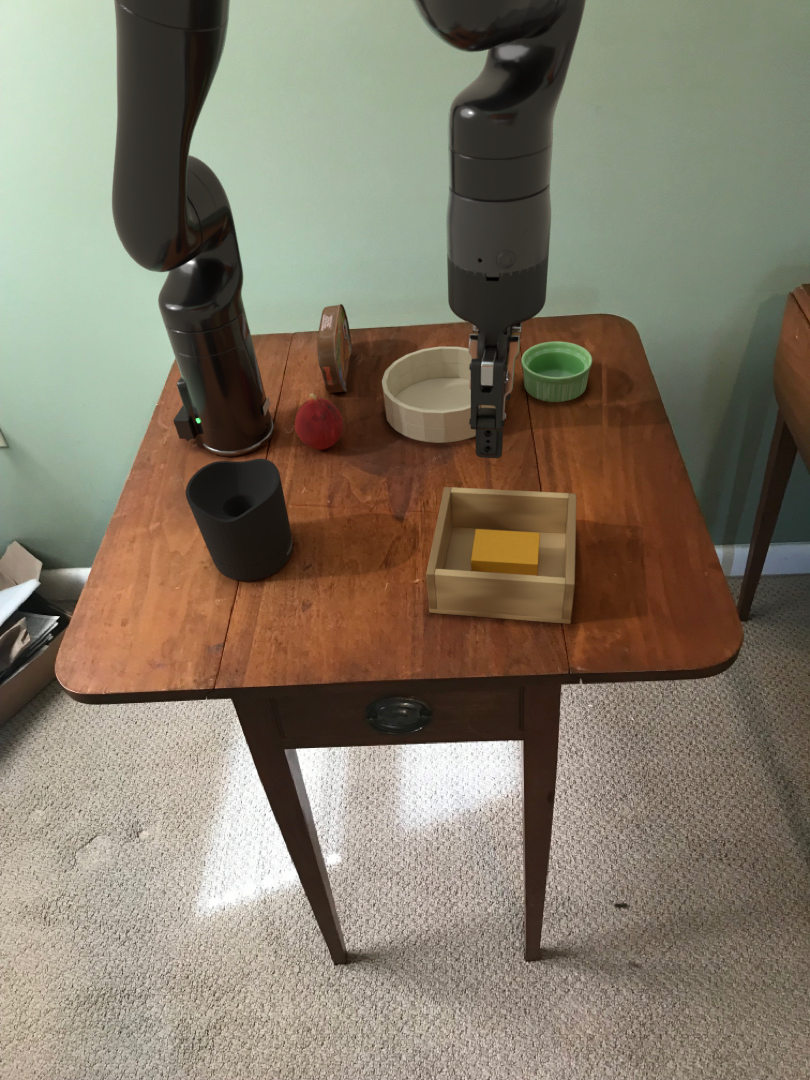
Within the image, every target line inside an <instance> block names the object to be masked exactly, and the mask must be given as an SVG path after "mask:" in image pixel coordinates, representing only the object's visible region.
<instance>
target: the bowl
mask: <svg viewBox="0 0 810 1080" xmlns="http://www.w3.org/2000/svg"><path fill="white" fill-rule="evenodd" d="M468 350H469V347H468V348H467V347H463V346H443V345H442V346H441V345H440V346H435V347H427V348H422V349H419V350H416V351H413V352H410V353H407V354H405V355H404V356H402V357H399V358H398V359H397V360H395V361H393V362H392V364H390V365H389V366H388V367H387V368H386V370H385V371H384V373H383V376H382V379H381V389H382V396H383V406H384V413H385V417H386V421H387V422H388V424H389V425H390V426H391V427H392V428H393V430H395V431H396V432H398V433H399V434H401V435H402V436H404V437H407V438H410V439H412V440H415V441H418V442H419V441H420V442H424V443H433V444H434V443H435V444H437V443H438V444H439V443H440V444H444V443H445V444H446V443H455V442H460V441H465V440H468V439H471V438H474V437H476V429H471V425H469V419H470V418H471V390H470V388H469V382H470V370H469V365H470V363H471V355H470V354H469V351H468ZM481 408H496V407H495V406H492V405H481Z"/></svg>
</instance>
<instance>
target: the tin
mask: <svg viewBox="0 0 810 1080" xmlns="http://www.w3.org/2000/svg"><path fill="white" fill-rule="evenodd" d="M349 324H350V323H349V319H348V315H347V311H346V308H345V307H344V304H342V303H339V304H335V305H329V306H328V305H327V306H325V307H323V309H322V312H321V316H320V321H319V326H318V331H317V338H316V353H317V362H318V366H319V369H320V372H321V375H322V379H323V383H324V389H325V391H326V392H327V393H329V394H332V393H343V392H344V393H348V389H347V388H346V382H347V377H348V370H349V363H350V357H351V354H352V353H353V345H352V344H353V343H352V336H351V335H352V334H351V330H350V325H349Z"/></svg>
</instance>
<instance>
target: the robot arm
mask: <svg viewBox="0 0 810 1080" xmlns="http://www.w3.org/2000/svg"><path fill="white" fill-rule="evenodd" d="M411 1H412V4H413V7H414V8H415V11H416V12H417V15H418V16H419V17H420V19H421V20H422V22H423V24H424V25H425V26H426V27H427V29H428V30H429V31H430V32H431V33H432V34H433V35H434V36H435V37H436V38H437V39H439V40H440V41H442V43H444V44H446V45H448V46H450V47H451V48H452V49H455V50H457V51H461V52H466V53H480V52H484V51H487V54H486V58H485V62H484V65H483V68H482V70H481V71H480V73H479V74H478V75H477V77H476V78H475V79H474V80H473V81H472V82H470V83H469V84H468V85H467V86H465V87H464V88H463V89H462V90H461V91H460V92H459V93H458V94H457V95H456V96H455V97H454V98H453V100H452V102H451V103H450V105H449V109H448V117H447V155H448V156H447V157H448V196H447V206H446V216H445V217H446V218H445V219H446V223H445V226H446V229H445V231H446V265H447V302H448V306H449V308H450V311H451V312H452V313H453V314H454V315H455V316H456V317H458V318H459V319H460V320H462V321H464V322H468V323H470V324H472V333H469V338H468V349H469V350H468V351H469V354H470V355H471V363H470V365H469V370H470V382H469V388H470V390H471V418H470V419H469V425H471V429H476V436H475V455H476V456H477V457H479V458H485V459H499V458H501V457H502V455H503V450H504V448H503V447H504V427H505V420H507V413H506V402H507V401H509V400H510V399H511V396H512V392H513V391H514V382H515V381H514V379H515V367H516V359H517V358H518V357H519V354H520V344H521V343H520V341H521V339H522V332H523V323H525V322H527V321H529V320H531V319H532V318H534V317H536V316H537V315H538V314H539V313H540V312H541V311H542V310H543V308H544V306H545V304H546V299H547V286H548V270H549V256H550V242H551V227H552V201H551V173H552V161H553V160H552V158H553V157H552V156H553V145H554V144H553V140H554V118H555V115H556V111H557V107H558V104H559V101H560V98H561V96H562V92H563V90H564V86H565V84H566V79H567V75H568V72H569V69H570V65H571V61H572V57H573V55H574V50H575V46H576V43H577V39H578V36H579V32H580V28H581V25H582V20H583V16H584V12H585V7H586V3H587V0H411ZM113 2H114V3H113V4H114V14H115V39H116V42H115V43H116V107H117V108H116V135H115V149H114V159H113V173H112V174H113V175H112V184H111V185H112V186H111V212H112V220H113V225H114V228H115V231H116V234H117V237H118V239H119V241H120V243H121V245H122V247H123V249H124V250H125V252H126V253H127V255H129V257H130V258H131V259H132V260H133V261H134V262H135V263H136V264H137V265H138V266H140V267H141V268H143V269H144V270H147V271H150V272H155V273H166V272H167V276H166V278H165V280H164V283H163V285H162V287H161V289H160V291H159V293H158V297H157V303H158V310H159V313H160V315H161V318H162V321H163V324H164V327H165V330H166V334H167V337H168V341H169V343H170V347H171V349H172V352H173V355H174V359H175V362H176V364H177V368H178V371H179V374H180V377H179V379H178V380H177V382H176V387H177V390H178V393H179V394H178V395H179V397H180V399H181V403H182V406H181V407H180V409H179V411H178V412H177V414H176V415H175V416H174V418H173V420H172V422H173V424H174V427H175V430H176V432H177V433H176V434H177V435H178V438H179V439H180V440H186V441H187V442H189V441H190V440H194V442H195V445H196V447H197V448H204V449H205V450H206V451H207V452H209V453H211V454H212V455H216V456H220V457H221V456H222V457H237V456H243V455H246V454H249V453H252V452H255V451H256V450H258V449H260V448H262V447H264V446H265V445H266V444H267V443H268V442H269V441H270V440H271V438H273V435H274V432H275V426H274V421H273V418H272V416H271V412H270V405H271V400H270V396H269V395H266V392H265V391H266V390H265V387H264V383H263V379H262V375H261V371H260V367H259V363H258V359H257V354H256V351H255V346H254V342H253V338H252V334H251V329H250V326H249V321H248V317H247V314H246V310H245V305H244V301H243V296H242V291H243V286H244V270H243V263H242V257H241V252H240V247H239V242H238V236H237V229H236V224H235V220H234V216H233V215H234V214H233V211H232V207H231V204H230V200H229V197H228V195H227V193H226V190H225V188H224V187H223V185H222V182H221V180H220V178H219V177H218V176H217V174H216V173H215V172H214V171H213V170H212V168H211V167H210V166H209V165H208V164H206V162H204V161H202V160H201V159H199V158H198V157H197V156H193V155H190V149H191V144H192V139H193V136H194V133H195V128H196V126H197V123H198V121H199V119H200V115H201V113H202V110H203V108H204V105H205V103H206V100H207V98H208V95H209V93H210V91H211V88H212V85H213V83H214V80H215V77H216V76H217V75H216V74H217V72H218V69H219V66H220V63H221V59H222V56H223V54H224V49H225V45H226V40H227V34H228V28H229V27H228V26H229V20H230V18H229V17H230V6H231V5H230V4H231V0H113ZM481 405H492V406H495V407H496V408H481Z"/></svg>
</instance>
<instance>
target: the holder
mask: <svg viewBox="0 0 810 1080" xmlns="http://www.w3.org/2000/svg"><path fill="white" fill-rule="evenodd" d="M577 499H578V498H577V493H568V492H554V491H552V492H550V491H536V490H535V491H532V490H514V489H495V488H474V487H454V486H453V487H451V486H444V487H443V490H442V495H441V501H440V505H439V510H438V515H437V519H436V524H435V529H434V533H433V538H432V543H431V549H430V553H429V557H428V562H427V567H426V572H425V577H426V589H427V598H428V599H427V601H428V611H429V613H430V614H439V615H440V614H442V615H453V616H465V617H478V618H491V619H501V620H515V621H516V620H517V621H528V622H540V623H541V622H542V623H552V624H565V625H567V624H568V625H570V624H571V623H572V614H573V605H574V596H575V586H576V548H577V547H576V544H577V543H576V541H577V540H576V539H577V501H578V500H577ZM476 529H483V530H500V531H517V532H535V533H540V543H539V560H538V575H537V576H533V575H519V574H505V573H490V572H476V571H471V557H472V550H473V543H474V537H475V530H476Z"/></svg>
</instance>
